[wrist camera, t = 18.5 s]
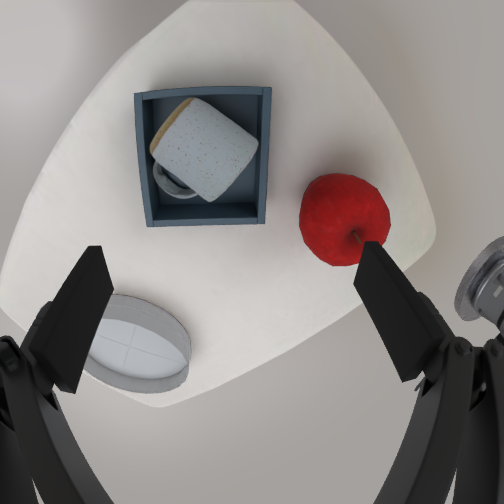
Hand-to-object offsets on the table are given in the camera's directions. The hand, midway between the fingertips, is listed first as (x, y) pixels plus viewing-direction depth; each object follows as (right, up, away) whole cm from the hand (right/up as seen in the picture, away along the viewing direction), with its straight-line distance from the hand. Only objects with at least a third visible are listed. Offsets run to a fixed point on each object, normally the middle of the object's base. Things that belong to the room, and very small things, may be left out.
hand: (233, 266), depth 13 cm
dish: (-21, -15, +32) cm, 41 cm away
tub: (-4, +12, +16) cm, 20 cm away
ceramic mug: (-5, +12, +15) cm, 20 cm away
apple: (+10, +8, +21) cm, 24 cm away
